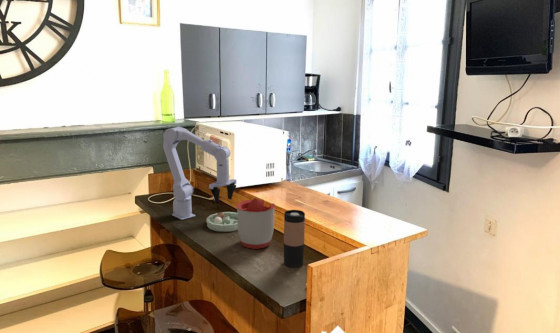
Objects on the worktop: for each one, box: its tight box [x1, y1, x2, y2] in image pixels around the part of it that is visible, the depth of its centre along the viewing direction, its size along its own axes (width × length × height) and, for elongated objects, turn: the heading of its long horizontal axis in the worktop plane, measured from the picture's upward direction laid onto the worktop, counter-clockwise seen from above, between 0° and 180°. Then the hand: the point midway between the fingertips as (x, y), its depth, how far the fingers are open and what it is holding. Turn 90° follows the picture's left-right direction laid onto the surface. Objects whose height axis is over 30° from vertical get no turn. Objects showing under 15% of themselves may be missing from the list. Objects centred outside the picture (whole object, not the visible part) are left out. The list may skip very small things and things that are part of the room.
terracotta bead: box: [216, 211, 225, 220], centre depth 193 cm, size 4×4×4 cm
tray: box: [206, 211, 238, 233], centre depth 190 cm, size 18×18×3 cm
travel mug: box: [283, 209, 306, 269], centre depth 149 cm, size 8×8×20 cm
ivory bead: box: [213, 217, 222, 224], centre depth 186 cm, size 4×4×4 cm
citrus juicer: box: [236, 197, 276, 250], centre depth 167 cm, size 16×17×20 cm
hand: (223, 200), depth 194 cm, fingers open, 7 cm apart
